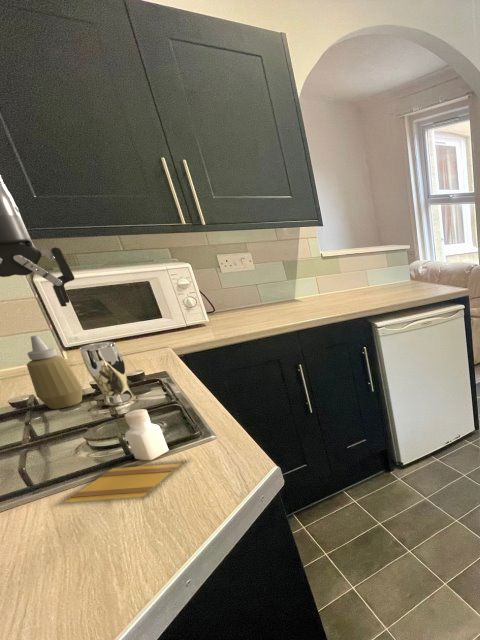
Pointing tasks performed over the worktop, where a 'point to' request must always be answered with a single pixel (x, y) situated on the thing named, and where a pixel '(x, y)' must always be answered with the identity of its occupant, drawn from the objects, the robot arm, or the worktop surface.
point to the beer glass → (108, 372)
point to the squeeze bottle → (52, 377)
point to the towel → (124, 483)
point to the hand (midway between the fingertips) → (30, 310)
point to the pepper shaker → (144, 436)
